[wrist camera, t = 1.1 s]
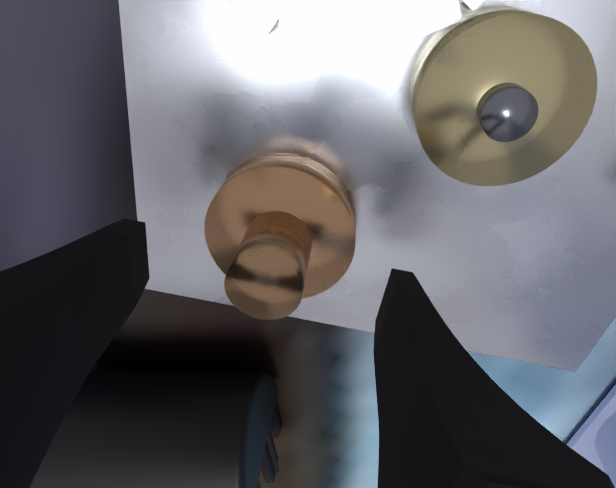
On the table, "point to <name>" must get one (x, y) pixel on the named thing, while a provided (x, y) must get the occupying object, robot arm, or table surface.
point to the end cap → (166, 431)
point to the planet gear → (280, 233)
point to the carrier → (397, 151)
